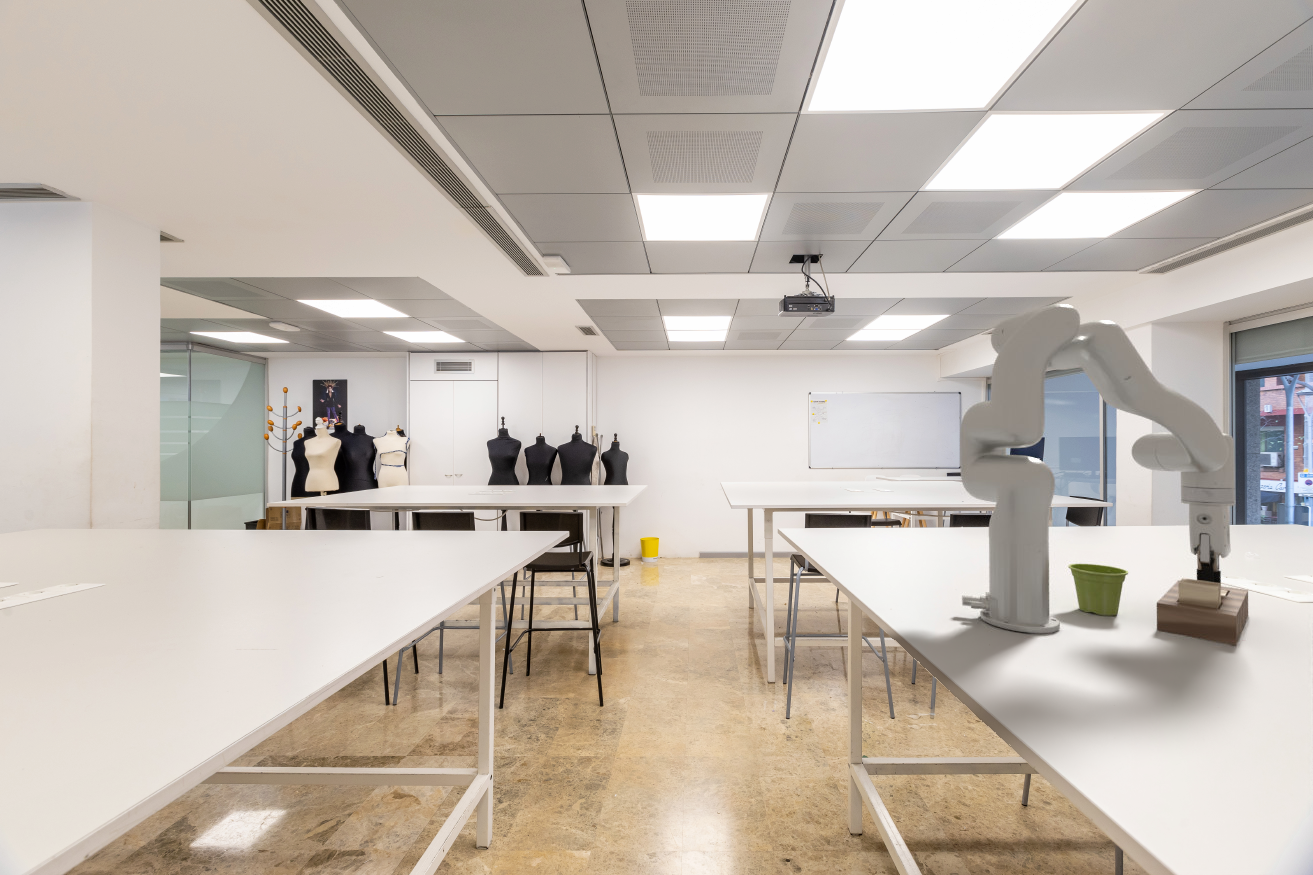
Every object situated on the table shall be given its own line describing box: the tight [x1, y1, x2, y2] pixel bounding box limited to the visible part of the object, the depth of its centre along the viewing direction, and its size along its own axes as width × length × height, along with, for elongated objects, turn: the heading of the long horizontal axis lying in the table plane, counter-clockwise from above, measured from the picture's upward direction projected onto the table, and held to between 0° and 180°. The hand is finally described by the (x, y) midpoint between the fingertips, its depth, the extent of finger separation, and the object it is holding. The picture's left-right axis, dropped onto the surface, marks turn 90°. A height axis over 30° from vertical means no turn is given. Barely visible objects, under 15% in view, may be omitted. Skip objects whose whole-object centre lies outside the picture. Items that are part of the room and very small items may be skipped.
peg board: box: [1156, 579, 1249, 646], centre depth 105 cm, size 24×10×5 cm, turn 130°
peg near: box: [1178, 577, 1222, 609], centre depth 101 cm, size 5×5×5 cm
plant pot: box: [1068, 563, 1129, 617], centre depth 112 cm, size 9×9×9 cm
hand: (1208, 590), depth 109 cm, fingers closed
